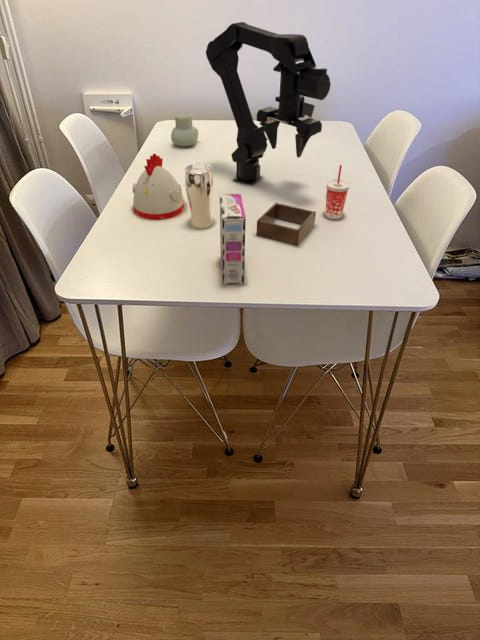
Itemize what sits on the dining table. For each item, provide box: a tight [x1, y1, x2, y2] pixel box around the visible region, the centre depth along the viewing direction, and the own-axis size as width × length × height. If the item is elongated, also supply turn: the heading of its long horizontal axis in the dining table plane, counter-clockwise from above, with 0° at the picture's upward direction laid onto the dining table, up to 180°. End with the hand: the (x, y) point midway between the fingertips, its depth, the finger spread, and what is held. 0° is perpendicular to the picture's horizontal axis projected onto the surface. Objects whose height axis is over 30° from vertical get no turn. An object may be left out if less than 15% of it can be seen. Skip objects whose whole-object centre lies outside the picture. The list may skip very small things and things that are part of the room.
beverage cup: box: [324, 164, 351, 220], centre depth 121 cm, size 6×6×14 cm
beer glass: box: [184, 162, 214, 230], centre depth 118 cm, size 7×7×15 cm
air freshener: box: [170, 112, 199, 147], centre depth 164 cm, size 11×8×10 cm
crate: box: [256, 202, 317, 247], centre depth 118 cm, size 11×11×4 cm
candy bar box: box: [219, 193, 247, 286], centre depth 100 cm, size 11×5×16 cm, turn 5°
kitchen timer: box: [132, 153, 185, 221], centre depth 124 cm, size 14×14×15 cm
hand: (286, 152), depth 129 cm, fingers open, 9 cm apart
